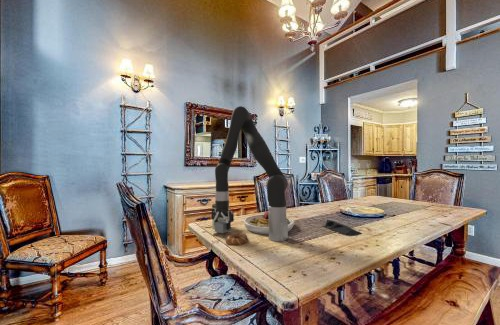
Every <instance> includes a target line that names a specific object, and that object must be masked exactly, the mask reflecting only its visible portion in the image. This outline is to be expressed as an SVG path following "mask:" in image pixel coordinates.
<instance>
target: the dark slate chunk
mask: <svg viewBox="0 0 500 325" xmlns="http://www.w3.org/2000/svg"><path fill="white" fill-rule="evenodd" d="M321 227H322V228H325V229H327V230H329V231H333V232H336V233H338V234H340V235H344V236H348V237H349V236H359V235H362V234H363V232H360V231H357V230H355V229H353V228H352V227H350V226H348V225H345V224H343V223H340V222H337V221H334V220H330V219H326V223H325V225H322V226H321Z"/></svg>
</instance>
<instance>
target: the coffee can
mask: <svg viewBox="0 0 500 325" xmlns="http://www.w3.org/2000/svg"><path fill="white" fill-rule="evenodd" d="M213 208H216V207H215V203H213V204H211V210H212V209H213ZM229 208H230V207H229ZM229 208H228V210H229ZM229 211H230V210H229ZM216 214H217V213H216ZM228 214H229V213H228ZM213 217H214V215H213ZM226 217H227V216H226ZM221 220H223V221H226V220H225V219H224V218H221V217H219V219H218V221H221ZM211 222H212V224H211V226H212V229H213V230H215V226H214V220H213V219H211Z"/></svg>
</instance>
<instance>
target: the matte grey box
mask: <svg viewBox="0 0 500 325" xmlns="http://www.w3.org/2000/svg"><path fill="white" fill-rule="evenodd" d="M230 230H231V228H230V229H229V230H227V222H226V221H223V220H221V221H218V222H215V229H214V233H216V232H219V233H225V232H231V231H230Z"/></svg>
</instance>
